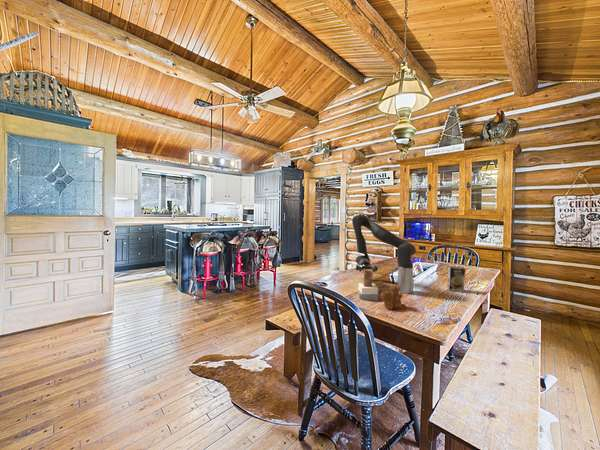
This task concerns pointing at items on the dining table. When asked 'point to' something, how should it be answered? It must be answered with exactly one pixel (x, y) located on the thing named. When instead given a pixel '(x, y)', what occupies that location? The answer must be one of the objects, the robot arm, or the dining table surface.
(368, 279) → the walnut block
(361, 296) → the tower bottom
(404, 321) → the dining table surface
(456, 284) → the coffee box
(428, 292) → the dining table surface
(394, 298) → the brown fuzzy figure
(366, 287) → the tower top
